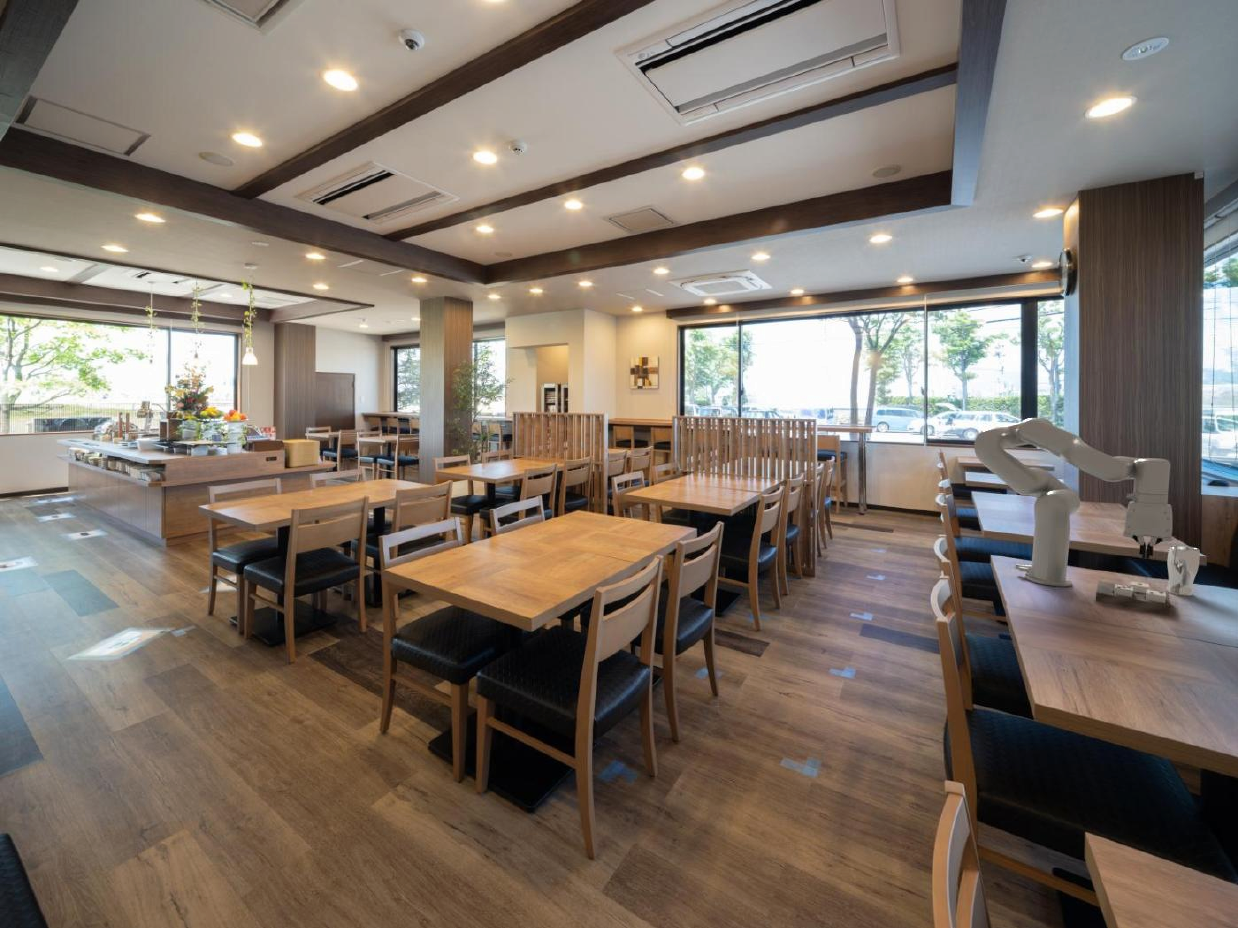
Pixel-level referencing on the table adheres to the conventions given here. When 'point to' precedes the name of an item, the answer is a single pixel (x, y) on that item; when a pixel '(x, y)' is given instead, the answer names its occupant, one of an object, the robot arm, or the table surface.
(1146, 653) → the table surface
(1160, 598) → the tile two pips
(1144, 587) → the tile one pip
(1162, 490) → the robot arm
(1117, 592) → the tile three pips
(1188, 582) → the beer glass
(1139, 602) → the button board
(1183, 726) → the table surface
